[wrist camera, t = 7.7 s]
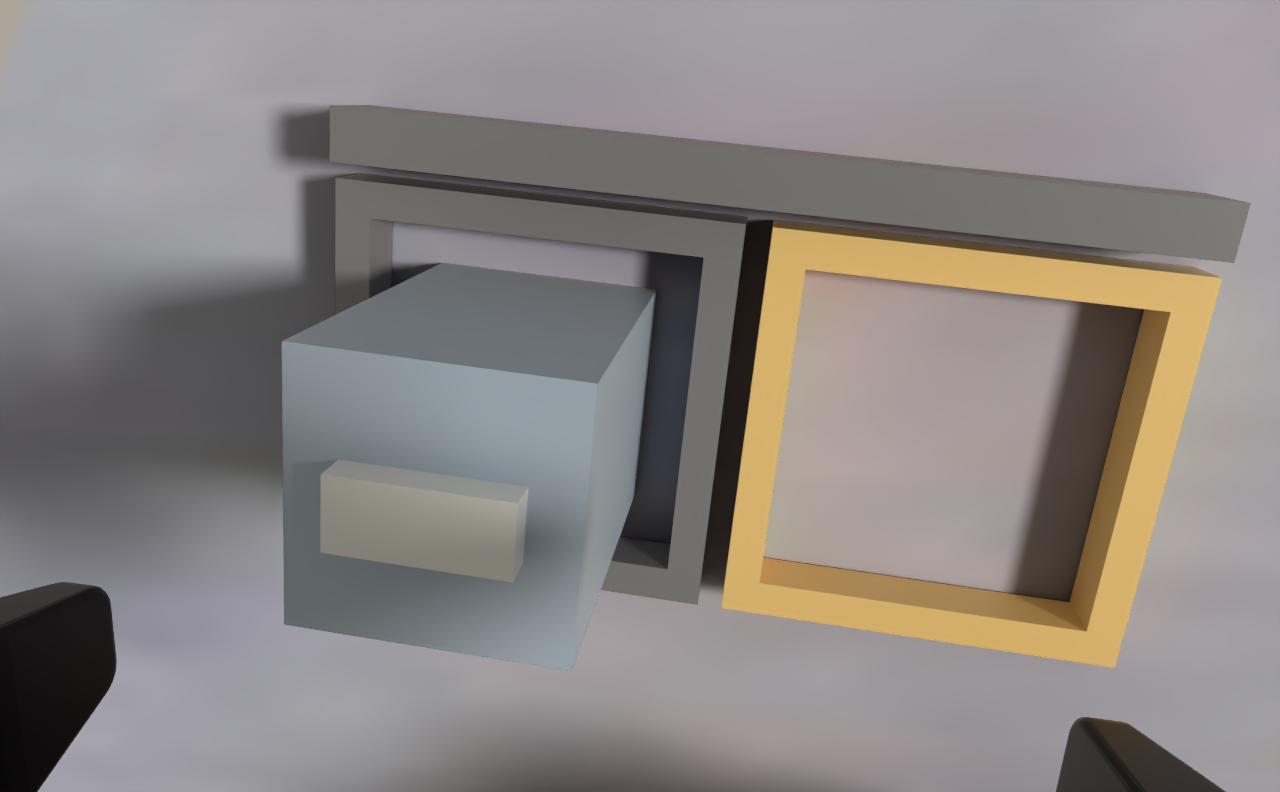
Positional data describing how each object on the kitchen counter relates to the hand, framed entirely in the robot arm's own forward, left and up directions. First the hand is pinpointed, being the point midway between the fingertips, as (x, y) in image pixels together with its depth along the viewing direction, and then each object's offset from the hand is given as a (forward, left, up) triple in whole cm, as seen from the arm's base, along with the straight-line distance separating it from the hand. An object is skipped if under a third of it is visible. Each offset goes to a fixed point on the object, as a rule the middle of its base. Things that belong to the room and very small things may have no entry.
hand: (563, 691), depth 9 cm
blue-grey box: (-1, +3, -12) cm, 12 cm away
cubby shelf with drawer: (-1, -1, -12) cm, 12 cm away
